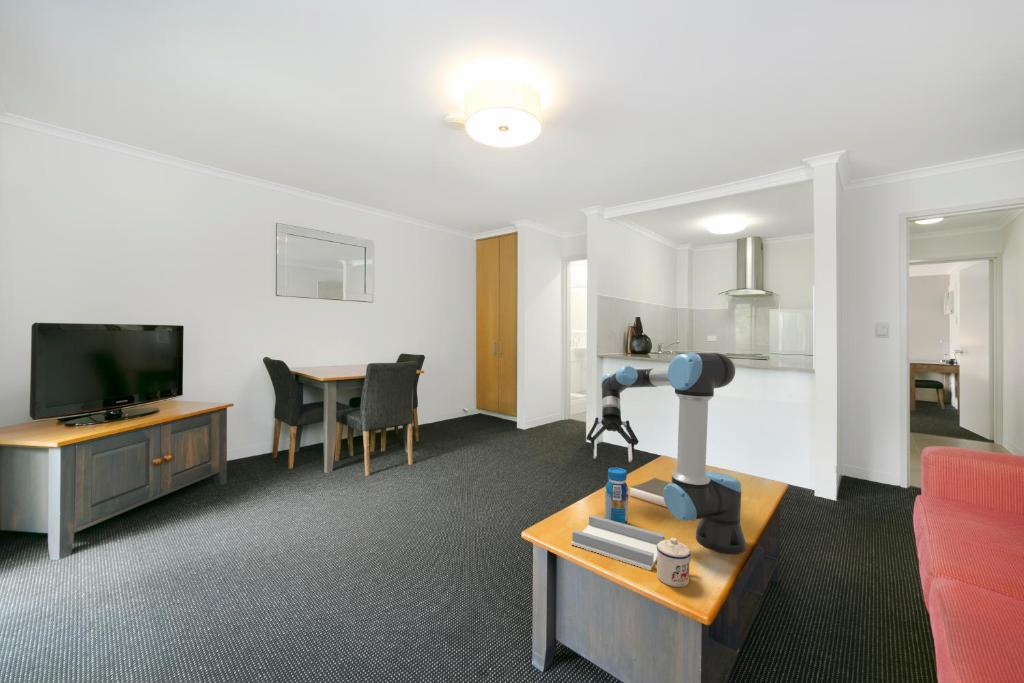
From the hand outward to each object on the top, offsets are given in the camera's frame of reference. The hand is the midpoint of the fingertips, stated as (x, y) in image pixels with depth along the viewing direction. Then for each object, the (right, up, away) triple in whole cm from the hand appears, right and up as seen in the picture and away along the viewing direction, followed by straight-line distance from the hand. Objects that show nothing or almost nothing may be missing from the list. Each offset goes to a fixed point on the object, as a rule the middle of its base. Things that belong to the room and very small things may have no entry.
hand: (612, 459), depth 162 cm
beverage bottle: (-1, -22, -7) cm, 23 cm away
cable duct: (-4, -22, -23) cm, 32 cm away
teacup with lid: (+9, -23, -41) cm, 47 cm away
